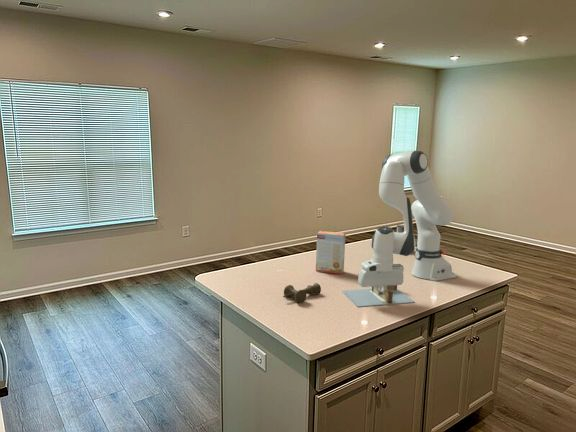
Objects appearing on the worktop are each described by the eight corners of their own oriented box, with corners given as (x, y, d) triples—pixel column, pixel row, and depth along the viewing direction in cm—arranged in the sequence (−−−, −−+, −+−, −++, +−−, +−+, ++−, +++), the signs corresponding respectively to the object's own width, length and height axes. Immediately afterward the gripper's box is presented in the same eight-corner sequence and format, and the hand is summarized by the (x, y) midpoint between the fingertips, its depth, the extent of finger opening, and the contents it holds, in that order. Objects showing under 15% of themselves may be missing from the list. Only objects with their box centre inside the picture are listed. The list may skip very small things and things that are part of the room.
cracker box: (343, 271, 230) (346, 232, 226) (341, 274, 225) (343, 235, 220) (318, 267, 235) (319, 230, 230) (315, 271, 229) (316, 232, 225)
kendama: (325, 297, 195) (289, 306, 183) (311, 291, 203) (276, 299, 191) (325, 284, 194) (290, 293, 182) (311, 279, 202) (276, 286, 190)
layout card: (395, 287, 208) (396, 276, 207) (414, 302, 191) (416, 290, 190) (342, 291, 202) (342, 280, 201) (357, 307, 185) (358, 294, 183)
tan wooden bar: (370, 290, 202) (371, 280, 201) (374, 289, 203) (374, 279, 202) (389, 303, 188) (390, 292, 187) (392, 302, 188) (393, 292, 187)
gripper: (400, 261, 194) (397, 290, 197) (357, 263, 189) (355, 293, 192) (407, 265, 188) (404, 296, 191) (363, 267, 183) (361, 299, 186)
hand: (379, 294), depth 191 cm, fingers closed
